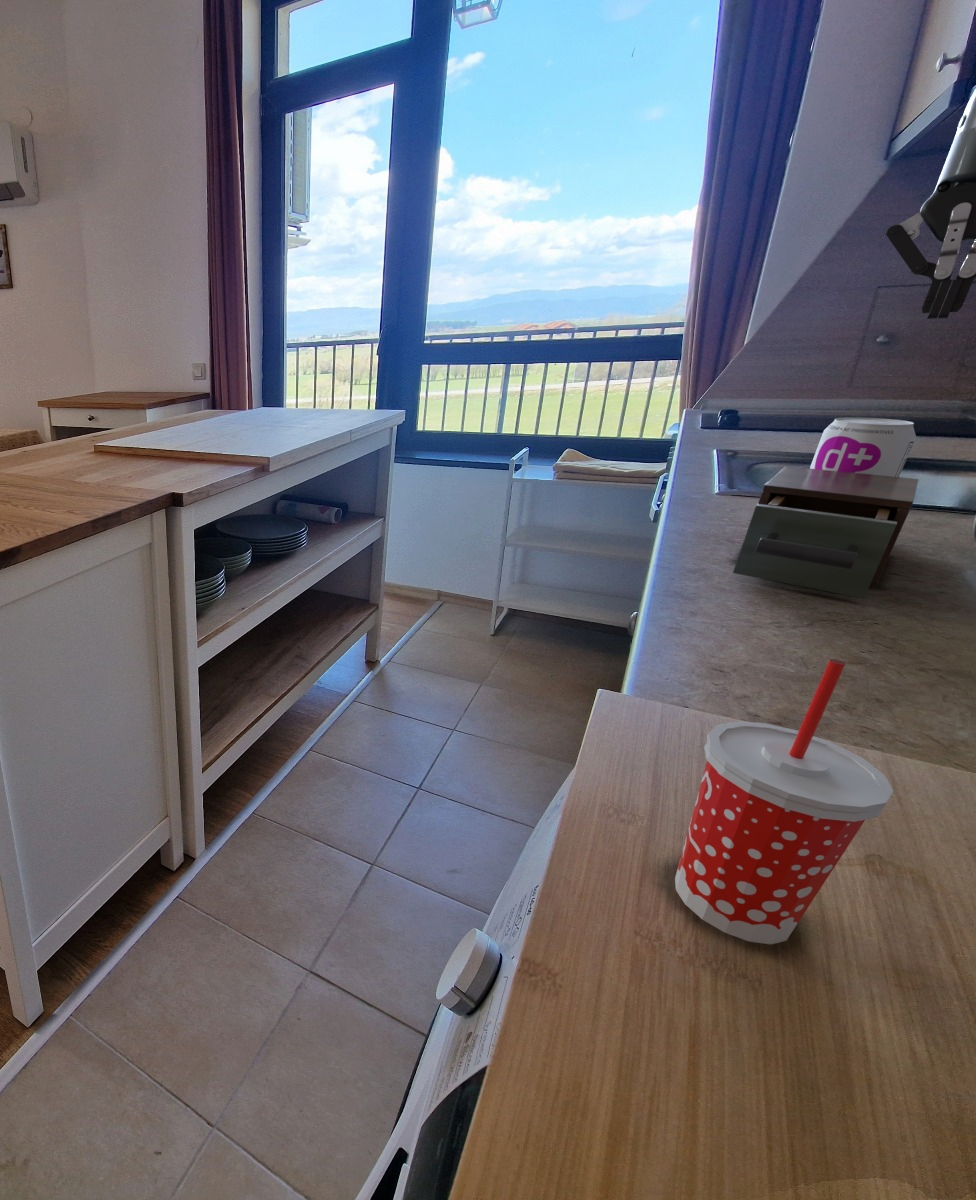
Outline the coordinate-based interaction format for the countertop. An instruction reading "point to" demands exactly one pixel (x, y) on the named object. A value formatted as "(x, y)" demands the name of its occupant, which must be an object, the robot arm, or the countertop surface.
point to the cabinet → (848, 494)
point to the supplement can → (865, 446)
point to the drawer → (816, 543)
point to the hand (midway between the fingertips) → (936, 318)
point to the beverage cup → (773, 821)
